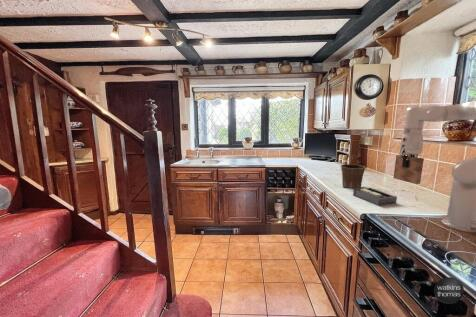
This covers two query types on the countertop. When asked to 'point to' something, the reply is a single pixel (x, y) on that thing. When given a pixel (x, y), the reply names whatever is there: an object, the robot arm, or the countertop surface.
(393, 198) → the rack
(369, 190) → the offcut
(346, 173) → the plant pot
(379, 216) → the countertop surface
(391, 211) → the countertop surface
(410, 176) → the walnut board
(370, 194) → the offcut
